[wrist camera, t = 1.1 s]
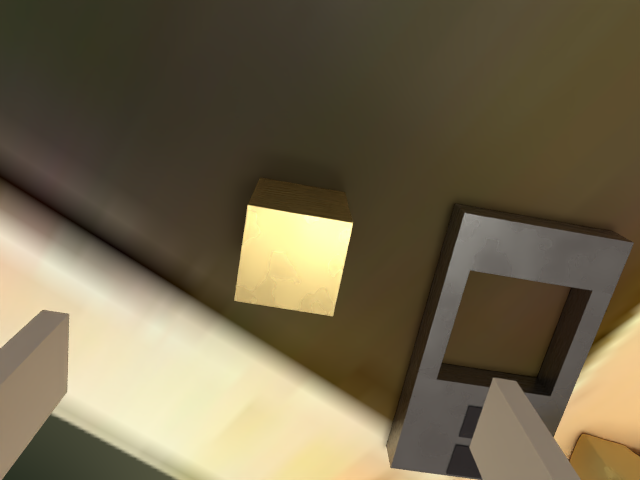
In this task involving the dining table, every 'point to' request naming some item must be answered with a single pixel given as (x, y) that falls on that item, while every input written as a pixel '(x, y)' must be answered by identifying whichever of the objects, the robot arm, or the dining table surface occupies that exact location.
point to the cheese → (604, 460)
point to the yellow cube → (294, 247)
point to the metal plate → (473, 384)
